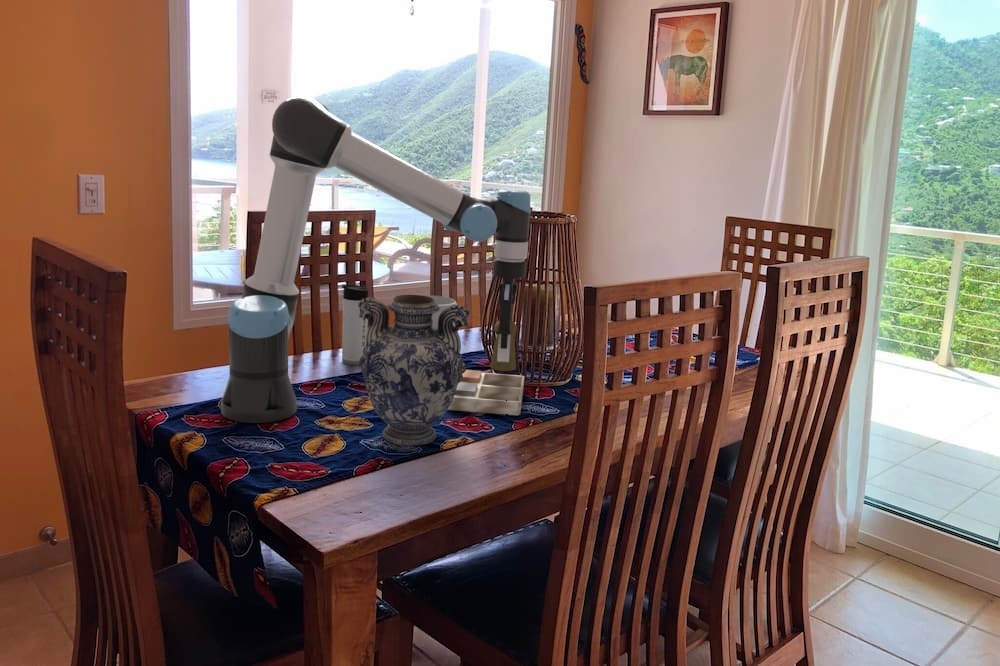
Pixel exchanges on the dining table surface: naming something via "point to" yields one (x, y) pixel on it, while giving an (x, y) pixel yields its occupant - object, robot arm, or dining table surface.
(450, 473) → the dining table surface
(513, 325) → the cork
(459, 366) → the decorative vase
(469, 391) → the socket board
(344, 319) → the travel mug
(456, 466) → the dining table surface
